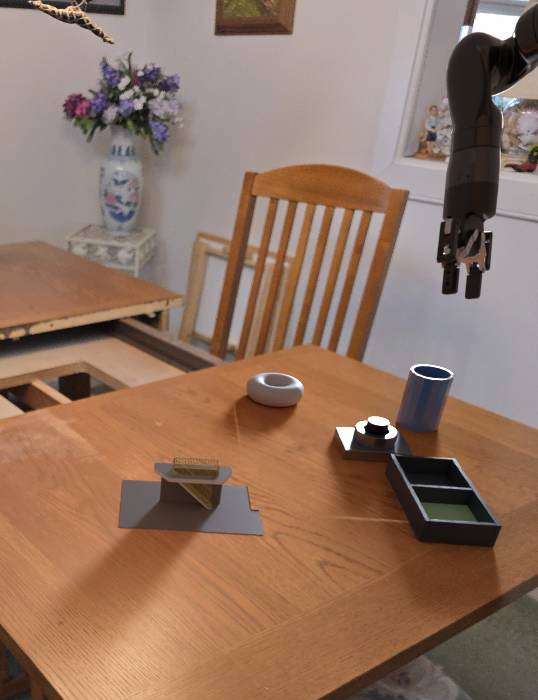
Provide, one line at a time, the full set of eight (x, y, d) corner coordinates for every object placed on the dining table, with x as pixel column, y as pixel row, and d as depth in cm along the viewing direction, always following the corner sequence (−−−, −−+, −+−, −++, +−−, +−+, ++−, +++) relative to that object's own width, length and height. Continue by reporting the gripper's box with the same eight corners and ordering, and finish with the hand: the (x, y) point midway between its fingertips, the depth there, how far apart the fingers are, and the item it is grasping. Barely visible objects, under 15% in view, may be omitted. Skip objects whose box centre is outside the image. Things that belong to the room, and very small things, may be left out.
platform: (264, 534, 87) (272, 488, 83) (119, 527, 87) (120, 480, 83) (253, 486, 97) (260, 443, 93) (122, 479, 97) (124, 436, 93)
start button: (384, 427, 107) (386, 417, 106) (389, 437, 105) (392, 426, 104) (363, 426, 107) (365, 415, 106) (367, 435, 105) (370, 424, 104)
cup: (431, 417, 119) (446, 366, 114) (443, 434, 114) (459, 381, 109) (391, 414, 120) (405, 363, 114) (402, 431, 114) (417, 378, 109)
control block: (397, 440, 111) (403, 420, 109) (410, 464, 104) (417, 443, 102) (333, 436, 111) (338, 416, 109) (343, 460, 105) (348, 439, 103)
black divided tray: (448, 477, 102) (455, 457, 100) (493, 547, 87) (502, 526, 85) (384, 472, 102) (390, 453, 100) (418, 541, 87) (425, 520, 86)
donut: (249, 384, 128) (240, 404, 120) (252, 366, 126) (242, 385, 118) (304, 393, 126) (299, 413, 118) (308, 374, 124) (302, 394, 116)
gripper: (477, 171, 101) (466, 290, 104) (514, 189, 110) (503, 298, 114) (426, 182, 106) (417, 295, 110) (466, 198, 116) (456, 302, 119)
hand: (461, 296), depth 112 cm, fingers open, 8 cm apart
